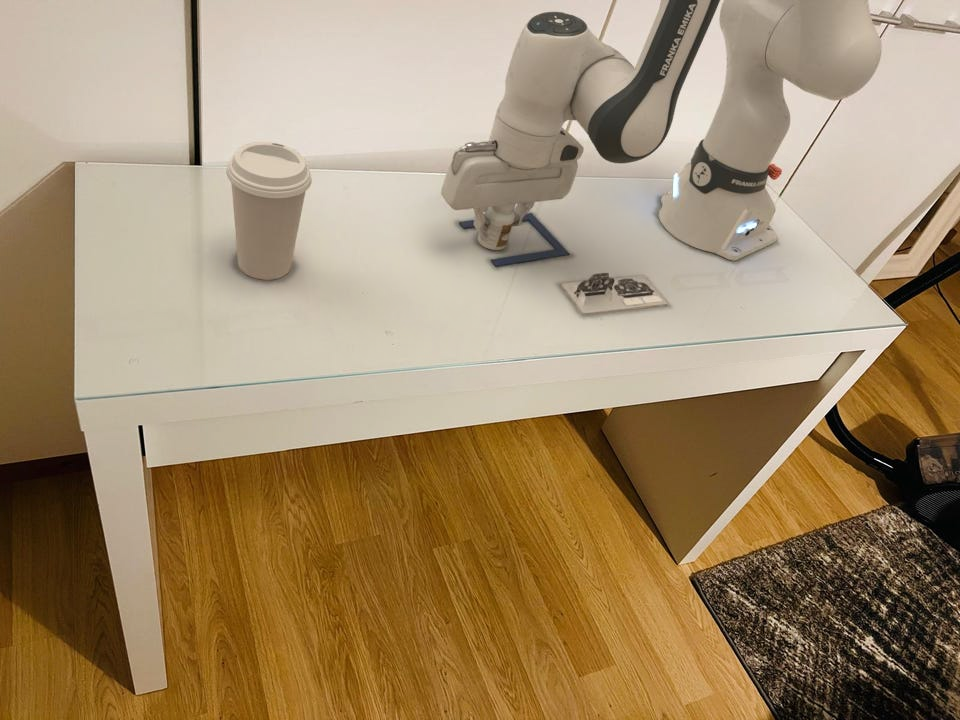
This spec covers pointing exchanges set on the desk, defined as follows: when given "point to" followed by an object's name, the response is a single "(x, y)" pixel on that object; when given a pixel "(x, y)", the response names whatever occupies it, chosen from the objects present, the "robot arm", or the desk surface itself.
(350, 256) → the desk surface
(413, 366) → the desk surface
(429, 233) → the desk surface
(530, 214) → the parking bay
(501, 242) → the pill bottle
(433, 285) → the desk surface
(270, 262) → the coffee cup
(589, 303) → the car cutout
